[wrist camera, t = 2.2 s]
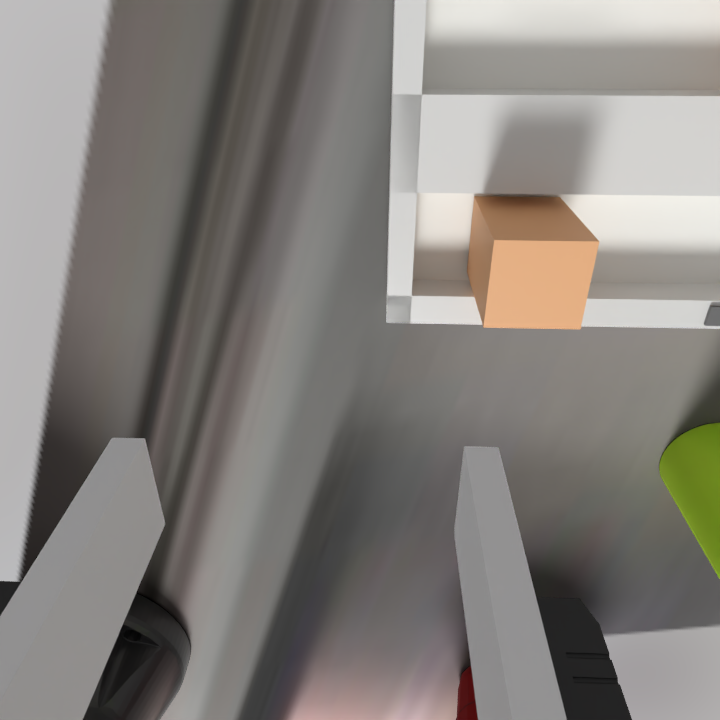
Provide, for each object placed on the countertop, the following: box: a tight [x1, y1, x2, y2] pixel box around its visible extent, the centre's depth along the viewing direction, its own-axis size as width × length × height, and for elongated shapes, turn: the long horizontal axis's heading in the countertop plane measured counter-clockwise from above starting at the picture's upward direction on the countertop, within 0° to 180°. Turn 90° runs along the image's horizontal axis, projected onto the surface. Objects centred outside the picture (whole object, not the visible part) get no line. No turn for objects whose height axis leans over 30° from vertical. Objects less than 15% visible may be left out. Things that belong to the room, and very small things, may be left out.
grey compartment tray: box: [386, 0, 720, 329], centre depth 26 cm, size 22×17×3 cm
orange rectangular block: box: [467, 196, 599, 329], centre depth 26 cm, size 4×4×6 cm
